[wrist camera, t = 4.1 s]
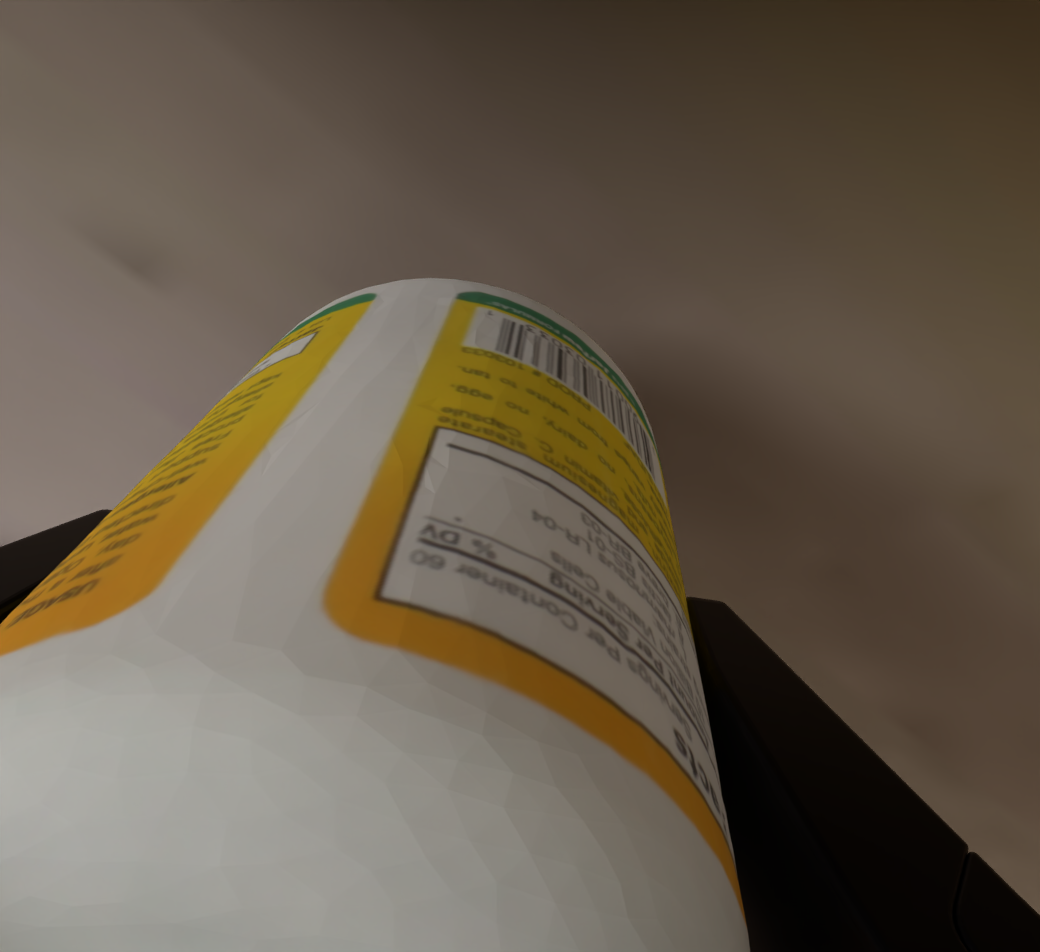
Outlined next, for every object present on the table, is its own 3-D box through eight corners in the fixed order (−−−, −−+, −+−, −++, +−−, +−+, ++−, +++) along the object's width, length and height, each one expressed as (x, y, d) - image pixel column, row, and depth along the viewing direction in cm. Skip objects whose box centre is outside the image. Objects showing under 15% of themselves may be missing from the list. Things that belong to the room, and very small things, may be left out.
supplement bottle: (670, 267, 9) (1534, 2291, 1) (644, 645, 12) (824, 2136, 3) (201, 266, 10) (-2242, 1840, 1) (271, 636, 12) (-400, 1993, 4)
